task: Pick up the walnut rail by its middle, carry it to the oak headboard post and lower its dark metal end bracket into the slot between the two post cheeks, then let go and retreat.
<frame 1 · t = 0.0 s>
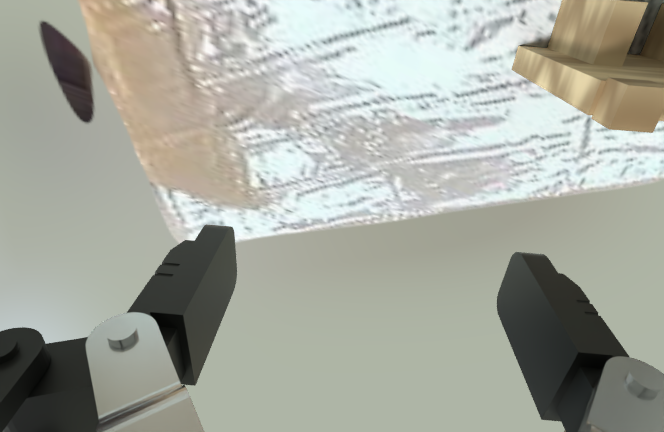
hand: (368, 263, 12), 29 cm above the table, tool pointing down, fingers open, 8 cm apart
headboard: (614, 27, 34), on the table
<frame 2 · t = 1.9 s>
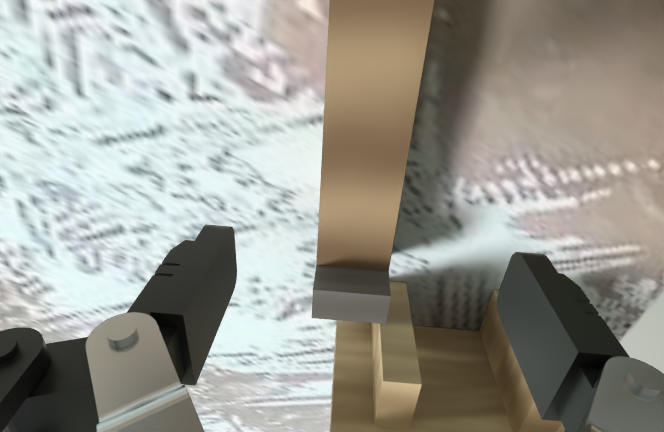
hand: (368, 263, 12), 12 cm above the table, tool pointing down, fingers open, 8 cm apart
rail: (364, 122, 22), on the table
headboard: (443, 307, 29), on the table
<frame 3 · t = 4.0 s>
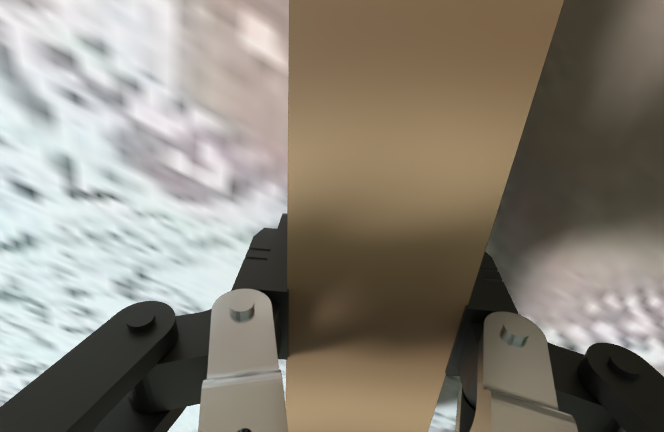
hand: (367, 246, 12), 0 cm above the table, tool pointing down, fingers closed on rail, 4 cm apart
rail: (368, 238, 13), on the table, touching gripper
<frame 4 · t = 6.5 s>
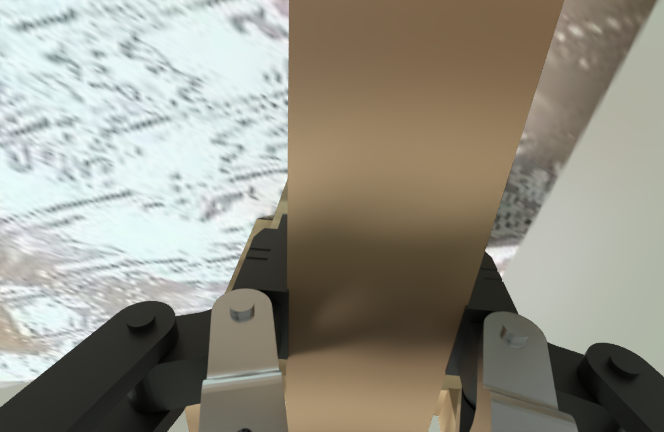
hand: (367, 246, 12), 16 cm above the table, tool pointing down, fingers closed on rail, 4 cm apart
rail: (368, 239, 13), point 16 cm above the table, touching gripper
headboard: (354, 204, 30), on the table
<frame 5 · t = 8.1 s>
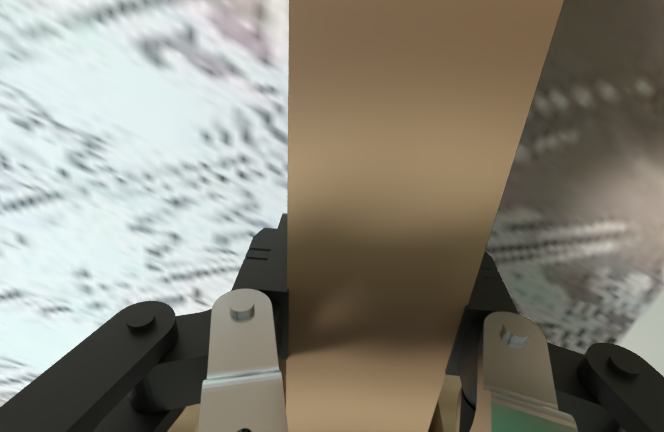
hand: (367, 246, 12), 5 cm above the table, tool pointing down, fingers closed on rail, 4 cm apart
rail: (368, 239, 13), point 4 cm above the table, touching gripper
headboard: (351, 314, 20), on the table
when the fingers open (2 cm above the table, at t = 9.4 s): rail drops 1 cm, on the table.
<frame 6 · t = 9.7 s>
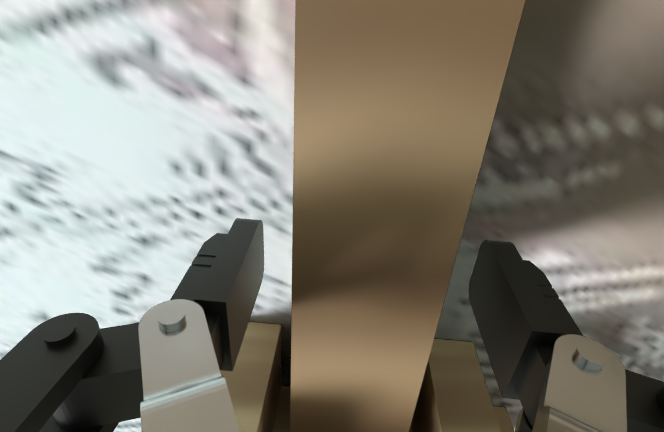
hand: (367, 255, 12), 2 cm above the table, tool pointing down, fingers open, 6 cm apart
rail: (366, 215, 14), on the table
headboard: (348, 363, 18), on the table
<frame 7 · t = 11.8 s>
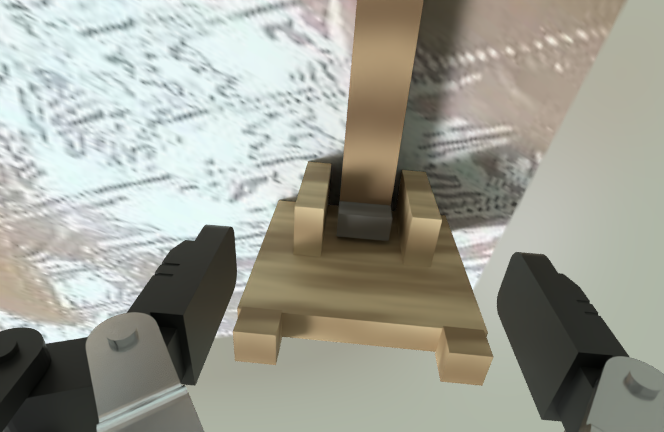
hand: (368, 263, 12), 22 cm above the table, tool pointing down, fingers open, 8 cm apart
rail: (374, 100, 31), on the table
headboard: (364, 187, 35), on the table
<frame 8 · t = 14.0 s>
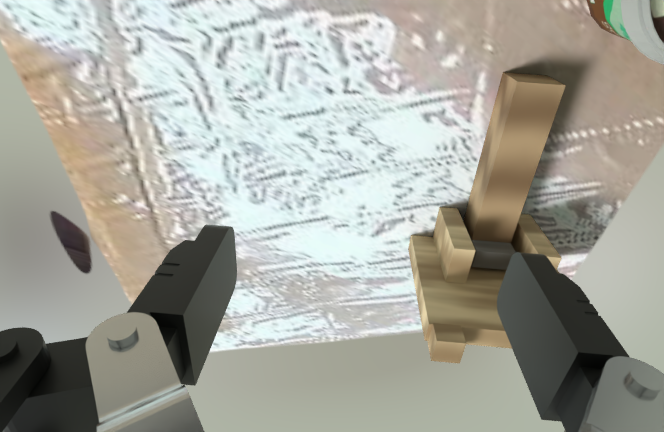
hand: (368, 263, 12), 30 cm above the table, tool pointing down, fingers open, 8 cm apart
rail: (498, 164, 42), on the table
headboard: (480, 226, 45), on the table
food container: (629, 11, 34), on the table
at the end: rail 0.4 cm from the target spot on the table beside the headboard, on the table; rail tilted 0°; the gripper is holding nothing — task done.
